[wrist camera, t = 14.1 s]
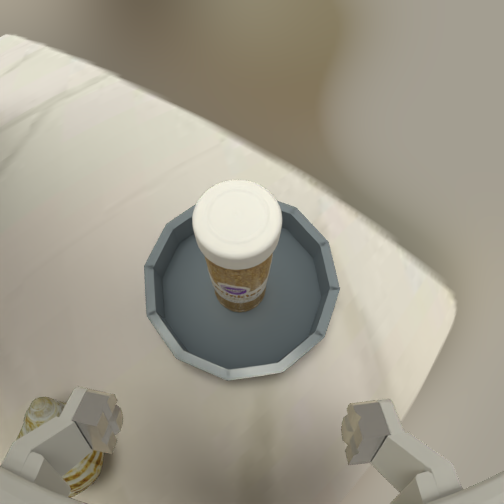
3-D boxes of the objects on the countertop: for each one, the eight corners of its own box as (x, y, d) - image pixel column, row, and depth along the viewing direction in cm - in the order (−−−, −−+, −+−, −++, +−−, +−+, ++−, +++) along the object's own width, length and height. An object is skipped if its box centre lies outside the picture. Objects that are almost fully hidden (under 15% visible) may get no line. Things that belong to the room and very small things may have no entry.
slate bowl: (128, 276, 29) (113, 261, 25) (254, 189, 33) (255, 166, 29) (226, 411, 25) (222, 417, 21) (357, 302, 29) (373, 292, 25)
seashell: (30, 481, 19) (-31, 453, 13) (52, 410, 27) (3, 366, 20) (110, 517, 19) (56, 507, 12) (129, 435, 26) (88, 396, 20)
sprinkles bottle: (216, 315, 27) (191, 261, 14) (213, 265, 29) (189, 180, 16) (269, 310, 27) (290, 252, 15) (263, 261, 29) (276, 172, 16)
